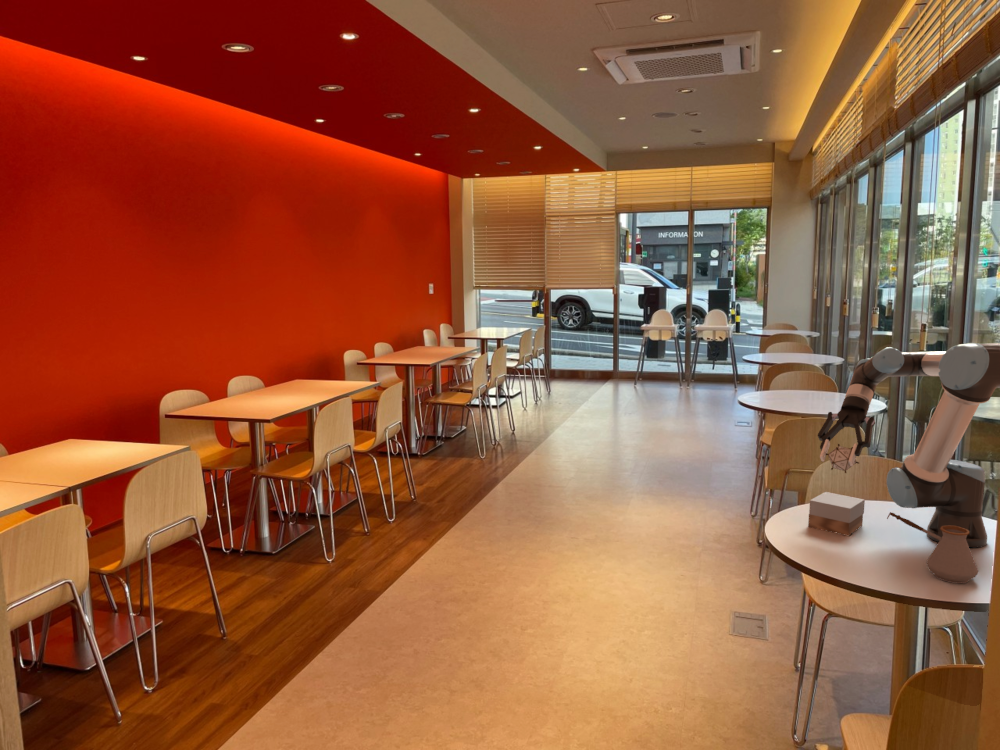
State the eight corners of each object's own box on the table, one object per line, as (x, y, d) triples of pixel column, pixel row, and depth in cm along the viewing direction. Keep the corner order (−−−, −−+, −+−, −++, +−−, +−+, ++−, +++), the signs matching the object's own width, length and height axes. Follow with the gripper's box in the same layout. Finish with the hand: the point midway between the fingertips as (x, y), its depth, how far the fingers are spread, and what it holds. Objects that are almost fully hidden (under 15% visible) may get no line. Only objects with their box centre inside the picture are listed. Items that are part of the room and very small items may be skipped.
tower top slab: (863, 513, 230) (864, 499, 230) (849, 523, 222) (850, 508, 221) (824, 505, 239) (825, 491, 238) (809, 514, 230) (809, 500, 230)
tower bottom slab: (862, 527, 231) (863, 513, 231) (848, 537, 223) (849, 522, 222) (822, 518, 239) (823, 505, 239) (808, 528, 231) (808, 514, 230)
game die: (839, 484, 227) (827, 461, 223) (828, 467, 234) (817, 445, 230) (867, 471, 224) (856, 448, 220) (856, 455, 232) (844, 432, 228)
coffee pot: (977, 574, 194) (982, 518, 192) (977, 590, 184) (982, 532, 182) (885, 558, 205) (889, 505, 203) (881, 572, 196) (885, 517, 194)
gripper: (894, 412, 230) (874, 474, 221) (826, 405, 244) (804, 462, 235) (890, 398, 226) (869, 460, 216) (821, 391, 240) (799, 449, 230)
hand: (836, 461), depth 225 cm, fingers closed on game die, 8 cm apart
